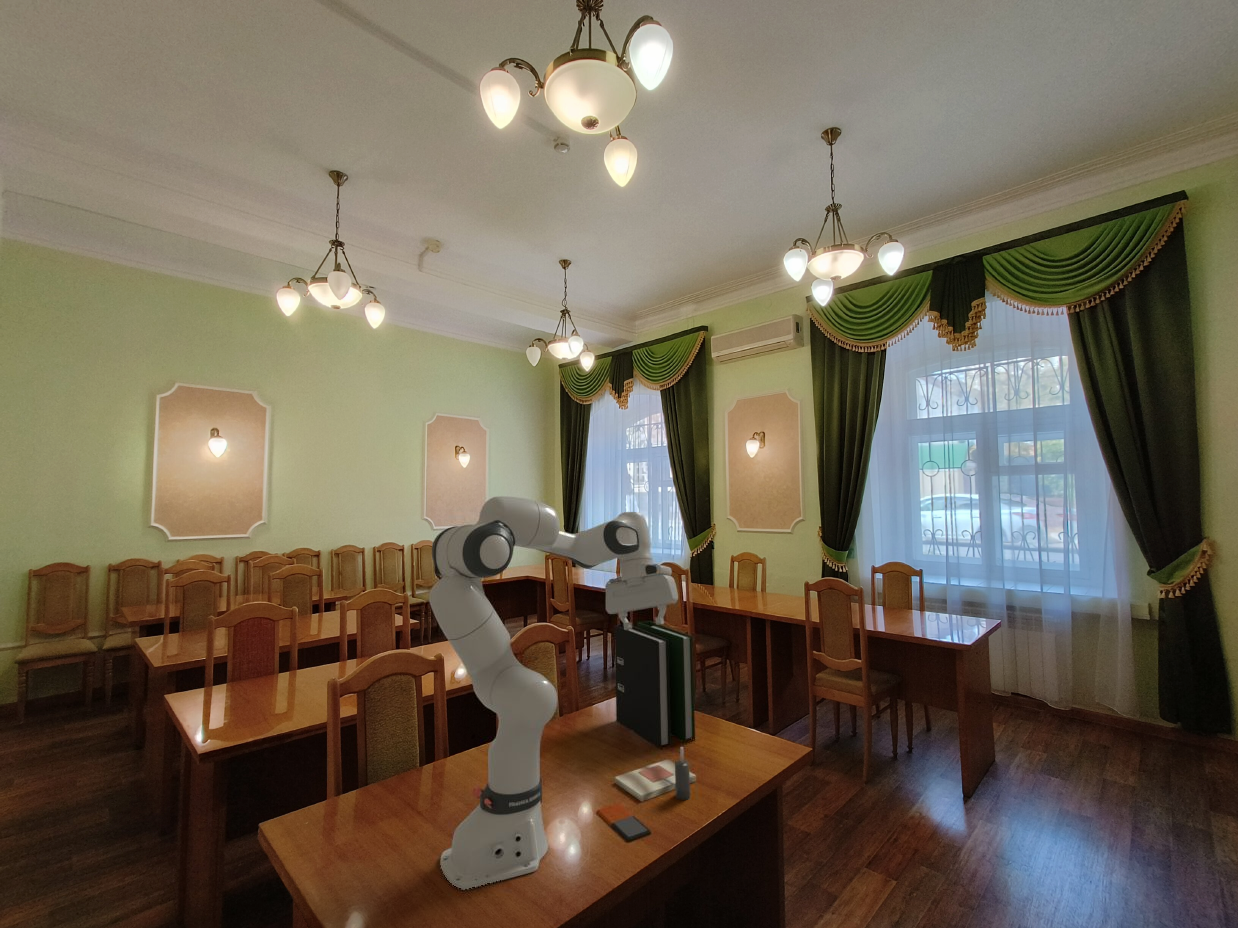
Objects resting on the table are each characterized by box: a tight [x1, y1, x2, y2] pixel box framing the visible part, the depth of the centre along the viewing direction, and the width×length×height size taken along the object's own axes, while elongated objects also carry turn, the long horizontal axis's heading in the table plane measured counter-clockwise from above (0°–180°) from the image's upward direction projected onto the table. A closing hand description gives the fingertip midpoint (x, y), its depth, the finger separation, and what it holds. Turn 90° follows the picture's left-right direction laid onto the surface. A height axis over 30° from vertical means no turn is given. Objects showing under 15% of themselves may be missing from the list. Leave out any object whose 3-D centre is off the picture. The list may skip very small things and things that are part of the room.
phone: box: [596, 802, 652, 843], centre depth 136 cm, size 6×1×15 cm
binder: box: [614, 620, 696, 750], centre depth 191 cm, size 27×15×32 cm, turn 28°
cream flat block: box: [614, 758, 697, 802], centre depth 155 cm, size 18×12×2 cm, turn 124°
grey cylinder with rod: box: [674, 746, 691, 801], centre depth 147 cm, size 4×4×12 cm
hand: (643, 627), depth 149 cm, fingers open, 8 cm apart
